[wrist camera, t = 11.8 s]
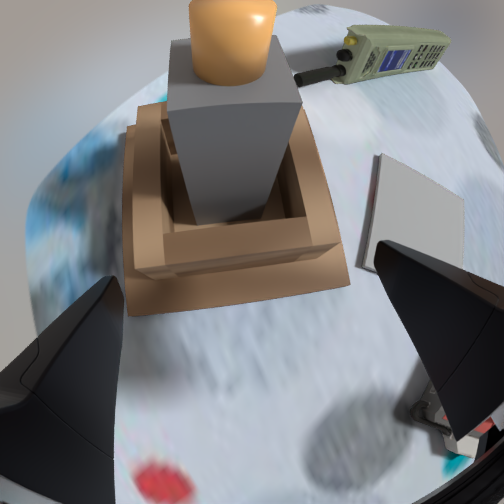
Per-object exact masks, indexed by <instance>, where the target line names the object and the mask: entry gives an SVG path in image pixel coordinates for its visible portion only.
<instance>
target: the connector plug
mask: <svg viewBox="0 0 504 504" xmlns="http://www.w3.org/2000/svg"><path fill="white" fill-rule="evenodd" d="M276 11H277V5H276V3H275V2H274V1H273V0H192V1H191V2H190V4H189V19H190V35H191V38H188V39H180V40H173V41H171V48H170V60H169V75H168V93H167V114H168V119H169V123H170V127H171V131H172V135H173V139H174V143H175V147H176V151H177V155H178V158H179V162H180V166H181V170H182V174H183V177H184V181H185V185H186V188H187V192H188V196H189V199H190V203H191V206H192V210H193V213H194V217H195V220H196V223H197V226H199V225H207V224H216V223H224V222H233V221H241V220H250V219H260V218H261V217H262V214H263V211H264V208H265V206H266V203H267V200H268V197H269V195H270V192H271V189H272V186H273V183H274V181H275V178H276V175H277V172H278V170H279V167H280V164H281V161H282V158H283V156H284V153H285V150H286V147H287V145H288V142H289V139H290V136H291V134H292V131H293V128H294V125H295V122H296V120H297V117H298V114H299V111H300V109H301V106H302V103H303V102H302V99H301V96H300V94H299V91H298V88H297V85H296V83H295V80H294V77H293V75H292V72H291V70H290V67H289V65H288V62H287V60H286V57H285V55H284V52H283V50H282V47H281V45H280V43H279V40H278V38H277V36H276V35H272V31H273V26H274V21H275V16H276Z"/></svg>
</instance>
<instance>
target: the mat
mask: <svg viewBox="0 0 504 504" xmlns="http://www.w3.org/2000/svg"><path fill="white" fill-rule="evenodd" d="M381 240H391V241H394V242H396V243H399V244H402V245H404V246H407V247H409V248H412V249H415V250H417V251H420V252H422V253H425V254H427V255H430V256H432V257H434V258H437V259H439V260H442V261H444V262H447V263H449V264H451V265H454V266H456V267H458V268H461V269H463V255H464V199H462V198H461V197H459V196H457V195H456V194H454V193H453V192H451V191H450V190H448V189H446V188H445V187H443V186H442V185H440V184H438V183H437V182H435V181H433V180H432V179H430V178H428V177H426V176H425V175H423V174H421V173H419V172H418V171H416V170H414V169H412V168H410V167H408V166H407V165H405V164H403V163H401V162H399V161H397V160H395V159H393V158H391V157H389V156H387V155H385V154H383V153H382V154H381V155H380V156H379V165H378V174H377V182H376V190H375V197H374V204H373V210H372V217H371V223H370V228H369V234H368V239H367V245H366V250H365V255H364V259H363V264H362V267H363V268H366V269H369V270H371V271H374V272H377V271H376V269H375V267H374V263H373V260H374V255H375V251H376V246H377V243H378V242H379V241H381Z"/></svg>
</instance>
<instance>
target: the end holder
mask: <svg viewBox="0 0 504 504" xmlns="http://www.w3.org/2000/svg"><path fill="white" fill-rule="evenodd" d="M122 240H123V264H124V280H125V292H126V303H127V312H128V316H144V315H154V314H164V313H173V312H182V311H190V310H199V309H207V308H215V307H222V306H230V305H237V304H244V303H251V302H257V301H264V300H270V299H277V298H283V297H289V296H295V295H301V294H307V293H312V292H318V291H323V290H329V289H334V288H340V287H345V286H348V285H350V279H349V274H348V269H347V264H346V259H345V254H344V250H343V245H342V240H341V236H340V232H339V227H338V223H337V219H336V215H335V211H334V207H333V203H332V199H331V195H330V191H329V188H328V184H327V180H326V177H325V173H324V170H323V166H322V163H321V159H320V156H319V153H318V149H317V146H316V143H315V140H314V137H313V134H312V130H311V127H310V124H309V121H308V118H307V115H306V113H305V110H304V109H303V107H302V106H301V109H300V111H299V114H298V117H297V120H296V122H295V125H294V128H293V131H292V134H291V136H290V139H289V142H288V145H287V147H286V150H285V153H284V156H283V158H282V161H281V164H280V167H279V170H278V172H277V175H276V178H275V181H274V183H273V186H272V189H271V192H270V195H269V197H268V200H267V203H266V206H265V208H264V211H263V214H262V217H261V218H260V219H250V220H241V221H233V222H224V223H216V224H207V225H199V226H197V223H196V220H195V217H194V213H193V210H192V206H191V203H190V199H189V196H188V192H187V188H186V185H185V181H184V177H183V174H182V170H181V166H180V162H179V158H178V155H177V151H176V147H175V143H174V139H173V135H172V131H171V127H170V123H169V119H168V114H167V101H165V102H159V103H153V104H148V105H143V106H138V110H137V120H136V125H131V126H127V132H126V142H125V154H124V169H123V194H122Z"/></svg>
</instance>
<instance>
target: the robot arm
mask: <svg viewBox="0 0 504 504" xmlns="http://www.w3.org/2000/svg"><path fill="white" fill-rule="evenodd" d="M373 263H374V267H375V269H376V271H377V274H378V276H379V278H380V280H381V282H382V284H383V287H384V289H385V291H386V293H387V295H388V297H389V299H390V301H391V303H392V305H393V307H394V309H395V310H396V312H397V314H398V316H399V318H400V319H401V321H402V323H403V325H404V327H405V329H406V331H407V333H408V334H409V336H410V338H411V340H412V342H413V344H414V346H415V348H416V350H417V352H418V354H419V356H420V358H421V360H422V362H423V364H424V366H425V369H426V371H427V373H428V375H429V377H430V379H431V381H432V384H433V386H434V388H435V390H436V393H437V395H438V398H439V400H440V402H441V405H442V407H443V409H444V412H445V414H446V417H447V419H448V422H449V424H450V427H451V430H452V432H453V435H454V438H455V440H456V442H458V441H459V440H461V439H462V438H463V437H465V436H466V435H468V434H469V433H470V432H472V431H473V430H474V429H476V428H477V427H478V426H479V425H481V424H482V423H483V422H484V421H486V420H487V419H488V418H489V417H492V419H493V421H494V423H495V424H494V425H493V426H492V427H491V428H490V429H489V430H487V431H486V432H485V433H484V434H483V435H481V436H480V438H479V443H478V447H477V452H476V456H475V460H474V463H473V464H471V465H470V466H469V467H467V468H466V469H465V470H463V471H462V472H461V473H459V474H458V475H457V476H455V477H454V478H452V479H451V480H450V481H448V482H447V483H445V484H444V485H442V486H441V487H439V488H437V489H436V490H434V491H433V492H431V493H429V494H428V495H426V496H424V497H423V498H421V499H419V500H418V501H416V502H414V503H412V504H504V287H503V286H501V285H498V284H496V283H493V282H491V281H489V280H486V279H484V278H481V277H479V276H477V275H475V274H472V273H470V272H467V271H465V270H463V269H461V268H458V267H456V266H454V265H451V264H449V263H447V262H444V261H442V260H439V259H437V258H434V257H432V256H430V255H427V254H425V253H422V252H420V251H417V250H415V249H412V248H409V247H407V246H404V245H402V244H399V243H396V242H394V241H391V240H381V241H379V242H378V243H377V246H376V251H375V255H374V260H373ZM123 313H124V296H123V293H122V291H121V288H120V285H119V283H118V280H117V278H116V277H115V276H114V275H112V276H104V277H102V278H101V279H100V280H99V281H98V282H97V283H95V284H94V285H93V286H92V287H91V288H90V289H89V290H87V291H86V292H85V293H84V294H83V295H82V296H81V297H79V298H78V299H77V300H76V301H75V302H74V303H73V304H72V305H71V306H69V307H68V308H67V309H66V310H65V311H64V312H63V313H62V314H61V315H60V316H59V317H58V318H57V319H55V320H54V321H53V322H52V323H51V324H50V325H49V326H48V327H47V328H46V329H45V330H44V331H43V332H42V333H41V334H40V335H39V336H38V338H36V339H35V340H34V341H33V342H32V343H31V344H30V345H29V346H28V347H27V348H26V349H25V350H24V351H23V352H22V353H21V354H20V355H19V356H17V357H16V358H15V359H14V360H13V361H12V362H11V363H10V364H9V365H8V366H7V367H5V369H3V370H2V371H1V372H0V504H116V502H115V485H114V460H113V459H114V424H115V406H116V393H117V382H118V372H119V363H120V355H121V348H122V337H123Z"/></svg>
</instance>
